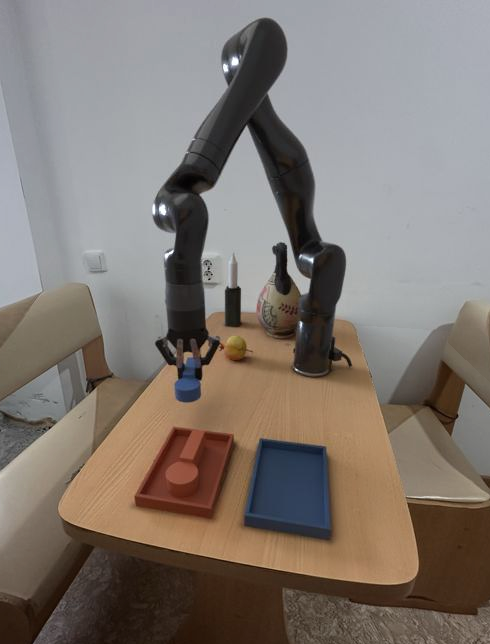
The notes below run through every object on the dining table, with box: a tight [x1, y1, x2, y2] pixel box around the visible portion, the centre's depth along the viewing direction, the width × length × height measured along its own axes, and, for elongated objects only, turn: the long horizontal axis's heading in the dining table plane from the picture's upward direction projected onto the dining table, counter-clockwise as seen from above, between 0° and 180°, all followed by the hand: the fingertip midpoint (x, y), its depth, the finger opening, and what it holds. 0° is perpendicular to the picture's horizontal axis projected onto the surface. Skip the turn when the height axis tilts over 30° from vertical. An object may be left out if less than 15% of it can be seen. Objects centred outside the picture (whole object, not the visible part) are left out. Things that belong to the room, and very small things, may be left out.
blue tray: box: [243, 437, 332, 541], centre depth 61 cm, size 18×12×2 cm
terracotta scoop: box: [166, 428, 206, 497], centre depth 64 cm, size 13×5×4 cm, turn 168°
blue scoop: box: [173, 356, 202, 404], centre depth 78 cm, size 13×5×4 cm, turn 179°
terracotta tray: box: [133, 426, 235, 520], centre depth 65 cm, size 18×12×2 cm
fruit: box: [218, 335, 254, 361], centre depth 105 cm, size 7×7×10 cm
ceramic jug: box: [255, 241, 302, 340], centre depth 117 cm, size 17×15×30 cm
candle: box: [224, 251, 242, 328], centre depth 127 cm, size 5×5×25 cm
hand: (190, 381), depth 79 cm, fingers closed on blue scoop, 2 cm apart
